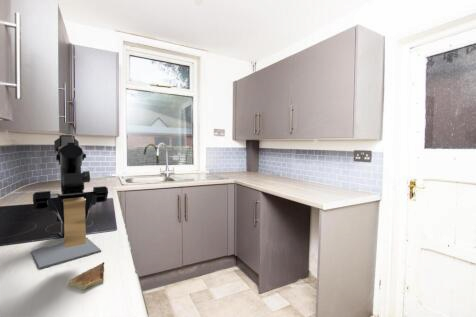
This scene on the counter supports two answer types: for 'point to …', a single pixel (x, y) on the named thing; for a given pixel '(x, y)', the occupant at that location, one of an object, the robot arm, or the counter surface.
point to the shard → (89, 278)
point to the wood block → (74, 222)
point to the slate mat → (62, 253)
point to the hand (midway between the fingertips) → (74, 221)
